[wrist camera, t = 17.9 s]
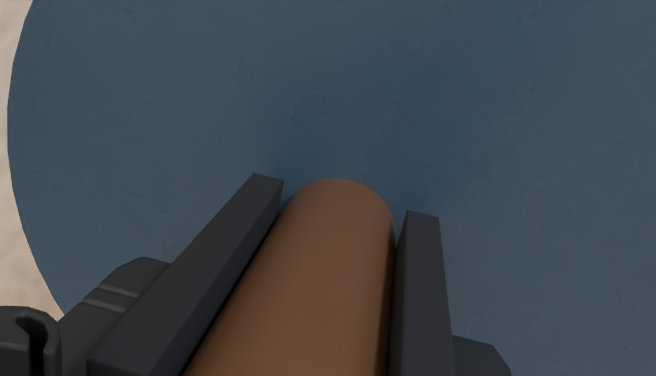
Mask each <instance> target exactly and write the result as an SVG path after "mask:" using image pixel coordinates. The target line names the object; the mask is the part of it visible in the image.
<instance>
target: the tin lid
mask: <svg viewBox="0 0 656 376" xmlns="http://www.w3.org/2000/svg"><path fill="white" fill-rule="evenodd" d="M7 137H8V156H9V164H10V172H11V179H12V187H13V192H14V196H15V200H16V204H17V208H18V212H19V216H20V220H21V224H22V228H23V231H24V233H25V236H26V238H27V241H28V244H29V246H30V249H31V251H32V254H33V257H34V259H35V262H36V265H37V267H38V269H39V271H40V273H41V274H42V276H43V278H44V280H45V282H46V284H47V286H48V288H49V290H50V292H51V294H52V296H53V298H54V300H55V301H56V303H57V304H58V306H59V307H60V309H61V310H62V312H63V313H64V315H66V314H67V313H68V312H69V311H70V310H71V309H72V308H73V307H74V306H75V305H77V304H78V303H79V302H82V301H83V298H84V297H85V296H86V295H87V294H89V293H90V292H91V291H92V290H93V289H94V288H95V287H96V288H98V286H99V283H101V282H102V281H103V280H104V279H105V278H106V277H107V276H108V275H109V274H110V273H111V272H113V271H114V270H115V269H116V268H117V267H119V266H121V265H123V264H126V263H128V262H130V261H133V260H135V259H137V258H139V257H142V256H144V257H148V258H152V259H156V260H160V261H164V262H168V263H171V264H172V263H173V262H174V261H175V259H176V258H177V257H178V256H179V255H180V254H181V253H182V252H183V251H184V249H185V248H186V247H187V246H188V245H189V244H190V243H191V242H192V241H193V239H194V238H195V237H196V236H197V235H198V234H199V233H200V232H201V231H202V229H203V228H204V227H205V226H206V225H207V224H208V223H209V222H210V221H211V219H212V218H213V217H214V216H215V215H216V214H217V213H218V212H219V211H220V209H221V208H222V207H223V206H224V205H225V204H226V203H227V202H228V201H229V199H230V198H231V197H232V196H233V195H234V194H235V193H236V192H237V191H238V190H239V188H240V187H241V186H242V185H243V184H244V183H245V182H246V181H247V180H248V178H249V177H250V176H251V175H252V174H253V173H257V174H261V175H265V176H270V177H274V178H278V179H282V180H284V184H283V190H282V196H281V202H280V208H279V214H278V219H277V221H276V222H275V224H274V225H273V227H272V229H271V230H270V232H269V234H268V235H267V237H266V239H265V240H264V242H263V244H262V245H261V247H260V248H259V250H258V252H257V253H256V255H255V257H254V258H253V260H252V262H251V263H250V265H249V266H248V268H247V270H246V271H245V273H244V275H243V276H242V278H241V280H240V281H239V283H238V285H237V286H236V288H235V289H234V291H233V293H232V294H231V296H230V298H229V299H228V301H227V303H226V304H225V306H224V308H223V309H222V311H221V312H220V314H219V316H218V317H217V319H216V321H215V322H214V324H213V326H212V327H211V329H210V330H209V332H208V334H207V335H206V337H205V339H204V340H203V342H202V344H201V345H200V347H199V349H198V350H197V352H196V353H195V355H194V357H193V358H192V360H191V362H190V363H189V365H188V367H187V368H186V370H185V372H184V373H183V375H182V376H386V375H387V361H388V347H389V333H390V320H391V306H392V292H393V278H394V264H395V251H396V247H397V243H398V240H399V236H400V233H401V229H402V225H403V222H404V218H405V215H406V211H407V210H410V211H414V212H419V213H423V214H427V215H431V216H435V217H439V223H440V232H441V241H442V250H443V259H444V269H445V278H446V287H447V296H448V305H449V314H450V323H451V332H452V335H456V336H460V337H464V338H467V339H471V340H475V341H479V342H483V343H487V344H490V345H493V346H494V347H495V349H496V350H497V351H498V353H499V354H500V356H501V357H502V358H503V360H504V361H505V362H506V364H507V365H508V367H509V368H510V371H511V375H512V376H656V0H33V2H32V4H31V7H30V9H29V11H28V14H27V16H26V18H25V21H24V25H23V28H22V32H21V36H20V39H19V43H18V47H17V51H16V54H15V58H14V62H13V67H12V75H11V83H10V90H9V98H8V106H7Z"/></svg>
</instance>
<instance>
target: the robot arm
mask: <svg viewBox="0 0 656 376" xmlns="http://www.w3.org/2000/svg"><path fill="white" fill-rule="evenodd" d="M283 184H284V180H282V179H278V178H274V177H270V176H265V175H261V174H257V173H253V174H252V175H251V176H250V177H249V178H248V180H247V181H246V182H245V183H244V184H243V185H242V186H241V187H240V188H239V190H238V191H237V192H236V193H235V194H234V195H233V196H232V197H231V198H230V199H229V201H228V202H227V203H226V204H225V205H224V206H223V207H222V208H221V209H220V211H219V212H218V213H217V214H216V215H215V216H214V217H213V218H212V219H211V221H210V222H209V223H208V224H207V225H206V226H205V227H204V228H203V229H202V231H201V232H200V233H199V234H198V235H197V236H196V237H195V238H194V239H193V241H192V242H191V243H190V244H189V245H188V246H187V247H186V248H185V249H184V251H183V252H182V253H181V254H180V255H179V256H178V257H177V258H176V259H175V261H174V262H173V263H172V264H171V263H168V262H164V261H160V260H156V259H152V258H148V257H144V256H142V257H139V258H137V259H135V260H133V261H130V262H128V263H126V264H123V265H121V266H119V267H117V268H116V269H115V270H114V271H113V272H111V273H110V274H109V275H108V276H107V277H106V278H105V279H104V280H103V281H102V282H101V283H99V286H98V288H96V287H95V288H94V289H93V290H92V291H91V292H90V293H89V294H87V295H86V296H85V297H84V298H83V301H82V302H79V303H78V304H77V305H75V306H74V307H73V308H72V309H71V310H70V311H69V312H68V313H67V314H66V315H65V316H63V317H62V318H61V319H60V320H59V321H58V322H57V321H55V320H54V319H53V318H52V317H51V316H50V315H49V314H47V313H46V312H43V311H40V310H37V309H34V308H30V307H24V306H0V376H182V375H183V373H184V372H185V370H186V368H187V367H188V365H189V363H190V362H191V360H192V358H193V357H194V355H195V353H196V352H197V350H198V349H199V347H200V345H201V344H202V342H203V340H204V339H205V337H206V335H207V334H208V332H209V330H210V329H211V327H212V326H213V324H214V322H215V321H216V319H217V317H218V316H219V314H220V312H221V311H222V309H223V308H224V306H225V304H226V303H227V301H228V299H229V298H230V296H231V294H232V293H233V291H234V289H235V288H236V286H237V285H238V283H239V281H240V280H241V278H242V276H243V275H244V273H245V271H246V270H247V268H248V266H249V265H250V263H251V262H252V260H253V258H254V257H255V255H256V253H257V252H258V250H259V248H260V247H261V245H262V244H263V242H264V240H265V239H266V237H267V235H268V234H269V232H270V230H271V229H272V227H273V225H274V224H275V222H276V221H277V219H278V214H279V208H280V202H281V196H282V190H283ZM386 376H512V375H511V371H510V368H509V367H508V365H507V364H506V362H505V361H504V360H503V358H502V357H501V356H500V354H499V353H498V351H497V350H496V349H495V347H494V346H493V345H490V344H487V343H483V342H479V341H475V340H471V339H467V338H464V337H460V336H456V335H452V332H451V323H450V314H449V305H448V296H447V287H446V278H445V269H444V259H443V250H442V241H441V232H440V223H439V217H435V216H431V215H427V214H423V213H419V212H414V211H410V210H407V211H406V215H405V218H404V222H403V225H402V229H401V233H400V236H399V240H398V243H397V247H396V251H395V264H394V278H393V292H392V306H391V320H390V333H389V347H388V361H387V375H386Z"/></svg>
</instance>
